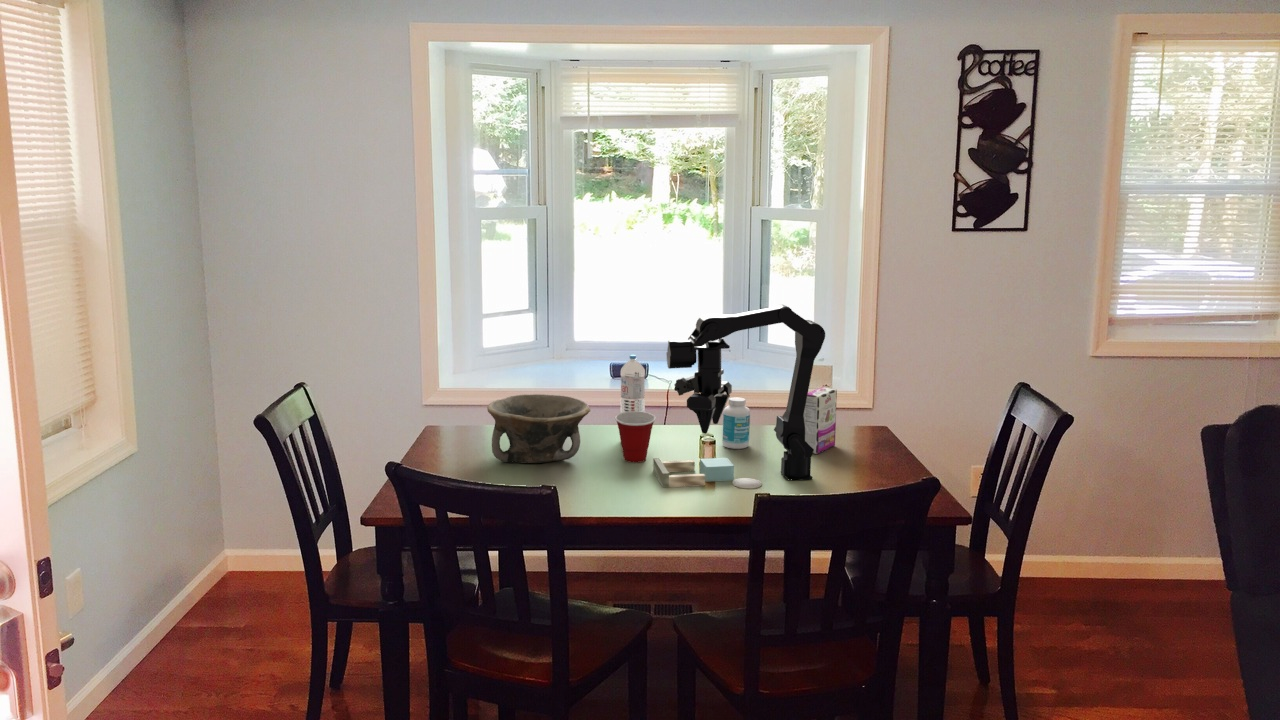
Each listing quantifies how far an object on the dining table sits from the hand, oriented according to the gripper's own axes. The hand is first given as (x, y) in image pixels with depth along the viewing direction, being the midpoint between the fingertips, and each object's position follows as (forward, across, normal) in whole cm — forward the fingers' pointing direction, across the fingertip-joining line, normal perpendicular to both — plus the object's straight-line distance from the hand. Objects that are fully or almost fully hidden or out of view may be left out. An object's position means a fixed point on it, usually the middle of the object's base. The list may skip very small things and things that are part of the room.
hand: (710, 428), depth 240 cm
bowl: (+12, 0, -48) cm, 49 cm away
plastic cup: (+13, -8, -23) cm, 28 cm away
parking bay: (+13, +2, -7) cm, 15 cm away
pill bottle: (+14, -31, -2) cm, 34 cm away
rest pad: (+13, 0, +9) cm, 16 cm away
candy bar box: (+14, -37, +20) cm, 45 cm away
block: (+14, -3, +1) cm, 14 cm away
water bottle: (+13, -24, -30) cm, 41 cm away
